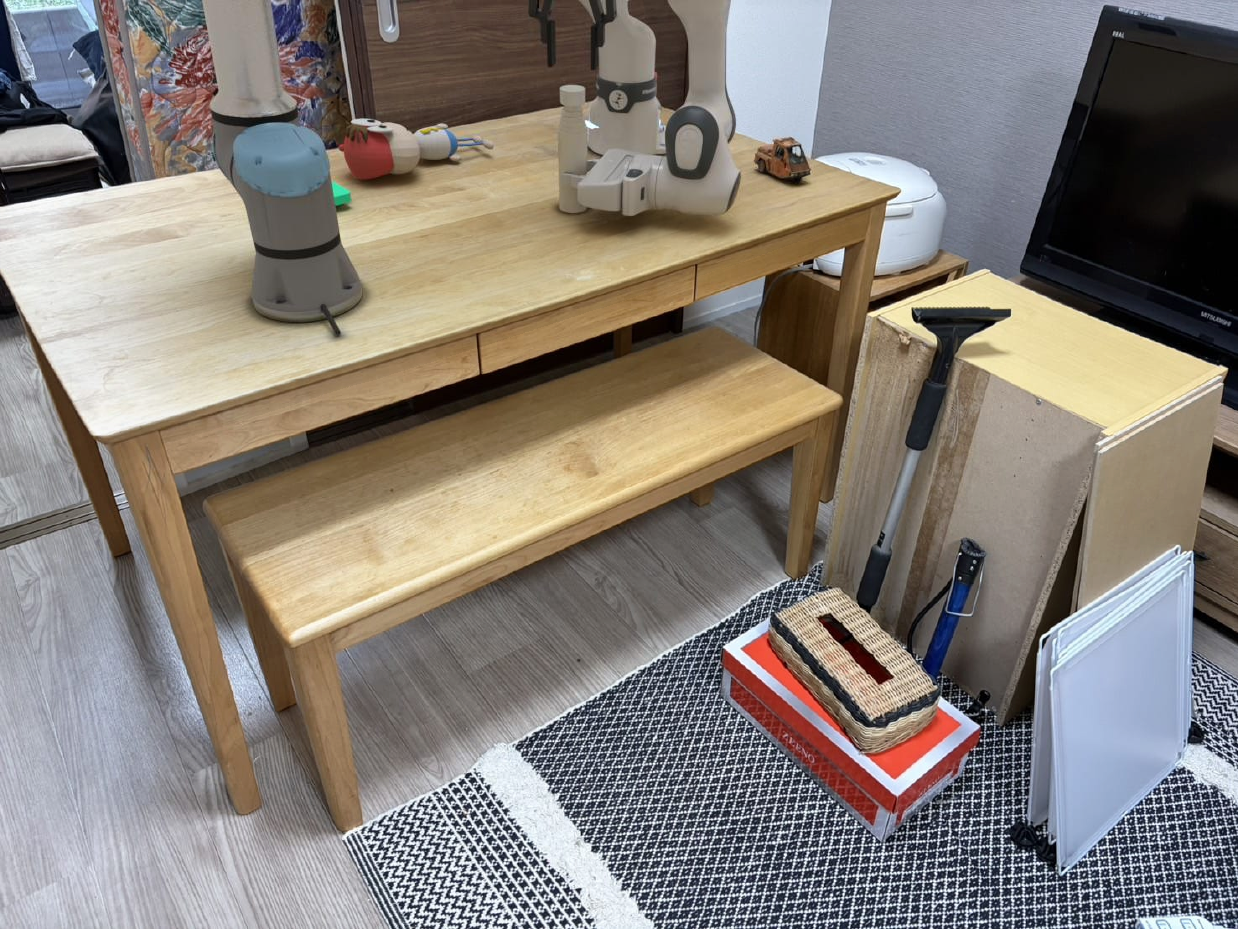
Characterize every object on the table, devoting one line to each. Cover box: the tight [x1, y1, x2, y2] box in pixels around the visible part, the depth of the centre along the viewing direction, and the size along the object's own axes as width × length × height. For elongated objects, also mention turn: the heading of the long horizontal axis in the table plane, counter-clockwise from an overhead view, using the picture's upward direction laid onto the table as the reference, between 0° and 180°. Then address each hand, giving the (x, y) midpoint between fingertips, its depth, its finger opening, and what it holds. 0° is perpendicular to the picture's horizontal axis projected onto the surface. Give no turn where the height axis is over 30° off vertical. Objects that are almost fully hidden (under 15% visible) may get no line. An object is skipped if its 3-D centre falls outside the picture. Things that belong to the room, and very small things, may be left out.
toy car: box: [753, 136, 812, 184], centre depth 179 cm, size 6×12×7 cm, turn 39°
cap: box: [559, 84, 586, 106], centre depth 154 cm, size 4×4×2 cm
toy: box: [338, 118, 494, 181], centre depth 178 cm, size 18×10×30 cm
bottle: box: [557, 105, 588, 214], centre depth 159 cm, size 5×5×20 cm
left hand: (573, 66), depth 151 cm, fingers open, 6 cm apart
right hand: (568, 171), depth 162 cm, fingers closed on bottle, 5 cm apart
